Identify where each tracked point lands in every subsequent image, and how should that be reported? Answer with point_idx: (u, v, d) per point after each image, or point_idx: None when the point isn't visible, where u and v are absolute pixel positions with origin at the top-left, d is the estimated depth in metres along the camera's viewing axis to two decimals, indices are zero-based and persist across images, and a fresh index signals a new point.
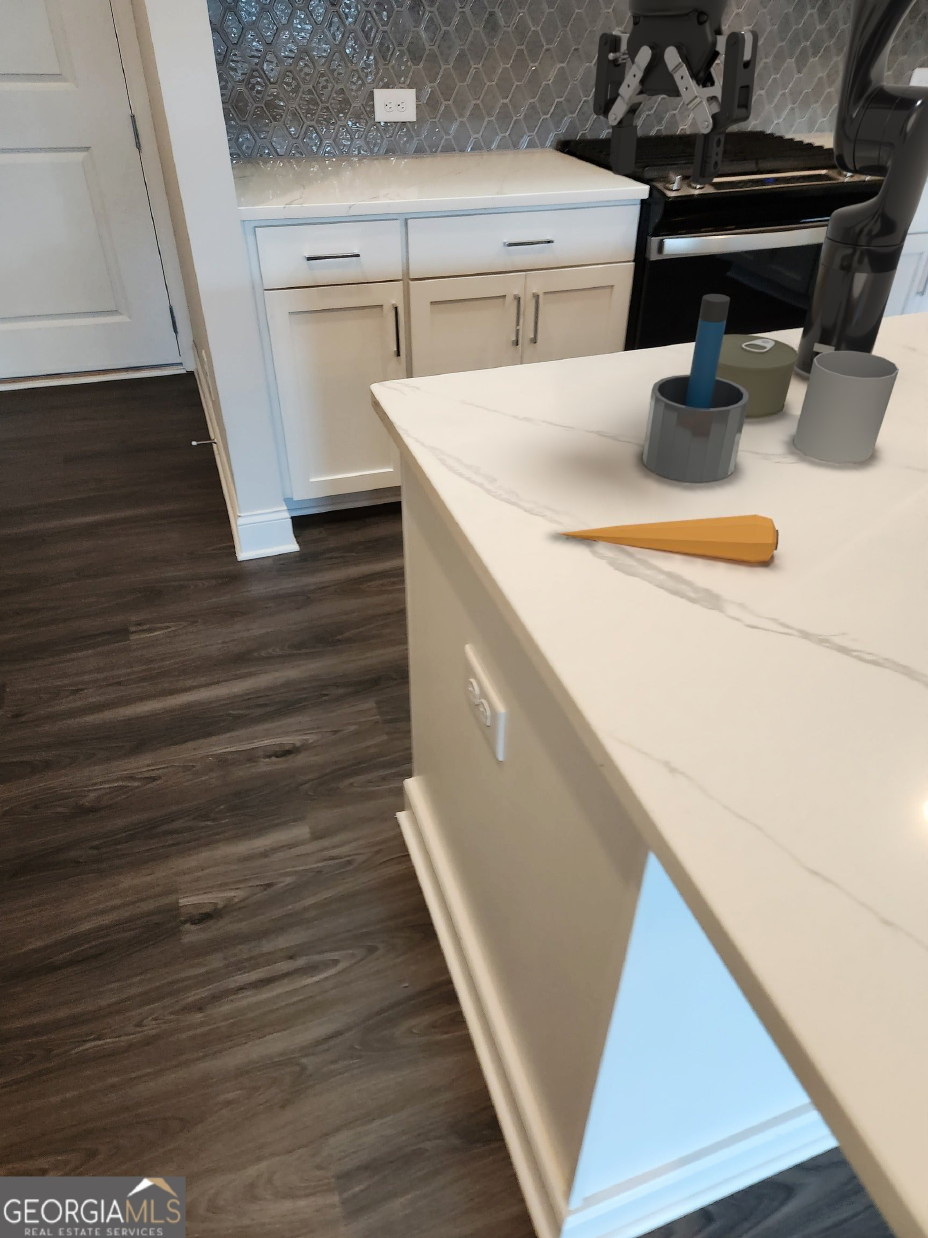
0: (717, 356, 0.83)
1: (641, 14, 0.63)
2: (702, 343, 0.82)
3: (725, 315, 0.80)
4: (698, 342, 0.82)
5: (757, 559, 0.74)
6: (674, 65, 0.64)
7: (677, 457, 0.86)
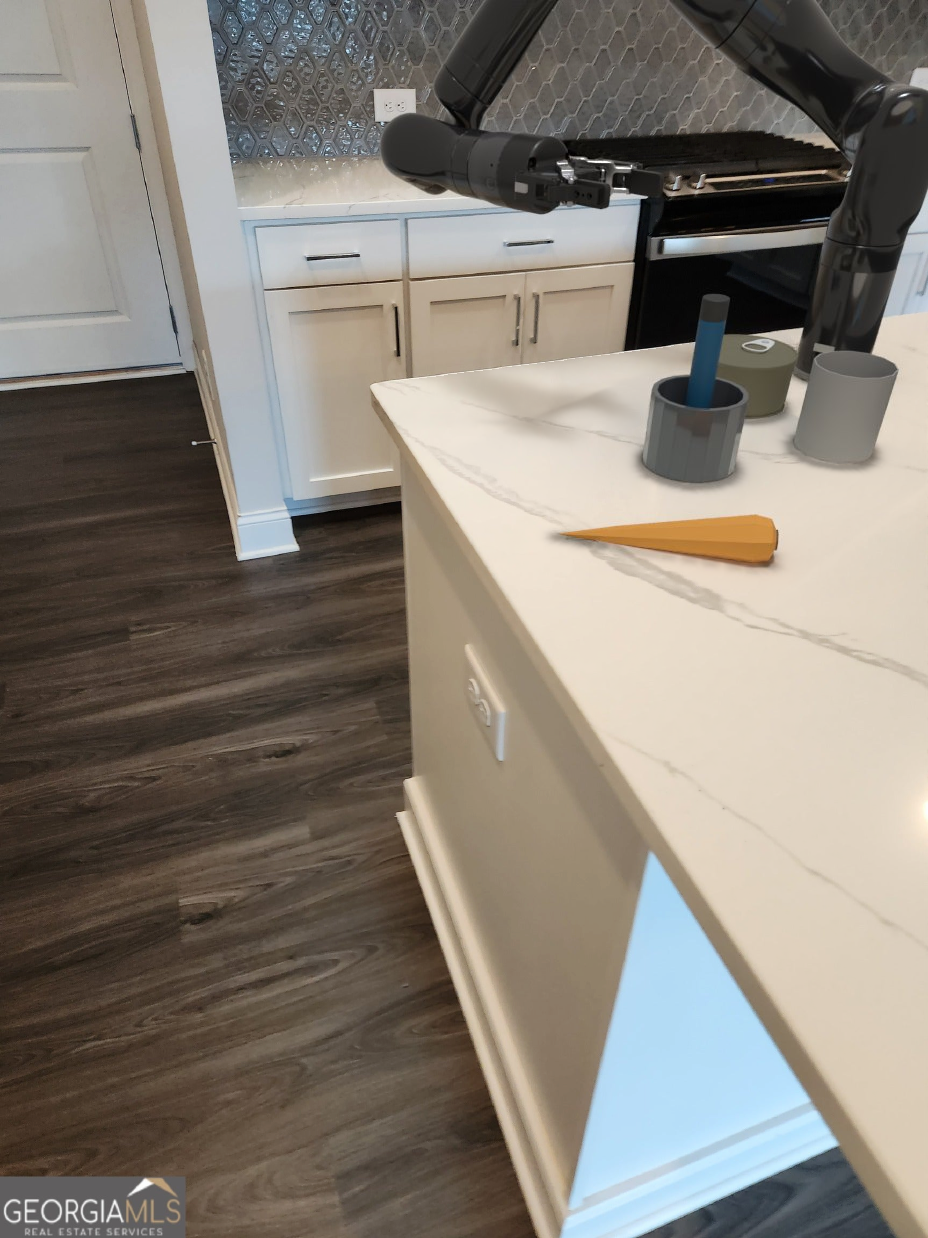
0: (717, 356, 0.83)
1: (551, 210, 0.91)
2: (702, 343, 0.82)
3: (725, 315, 0.80)
4: (698, 342, 0.82)
5: (757, 559, 0.74)
6: None
7: (677, 457, 0.86)
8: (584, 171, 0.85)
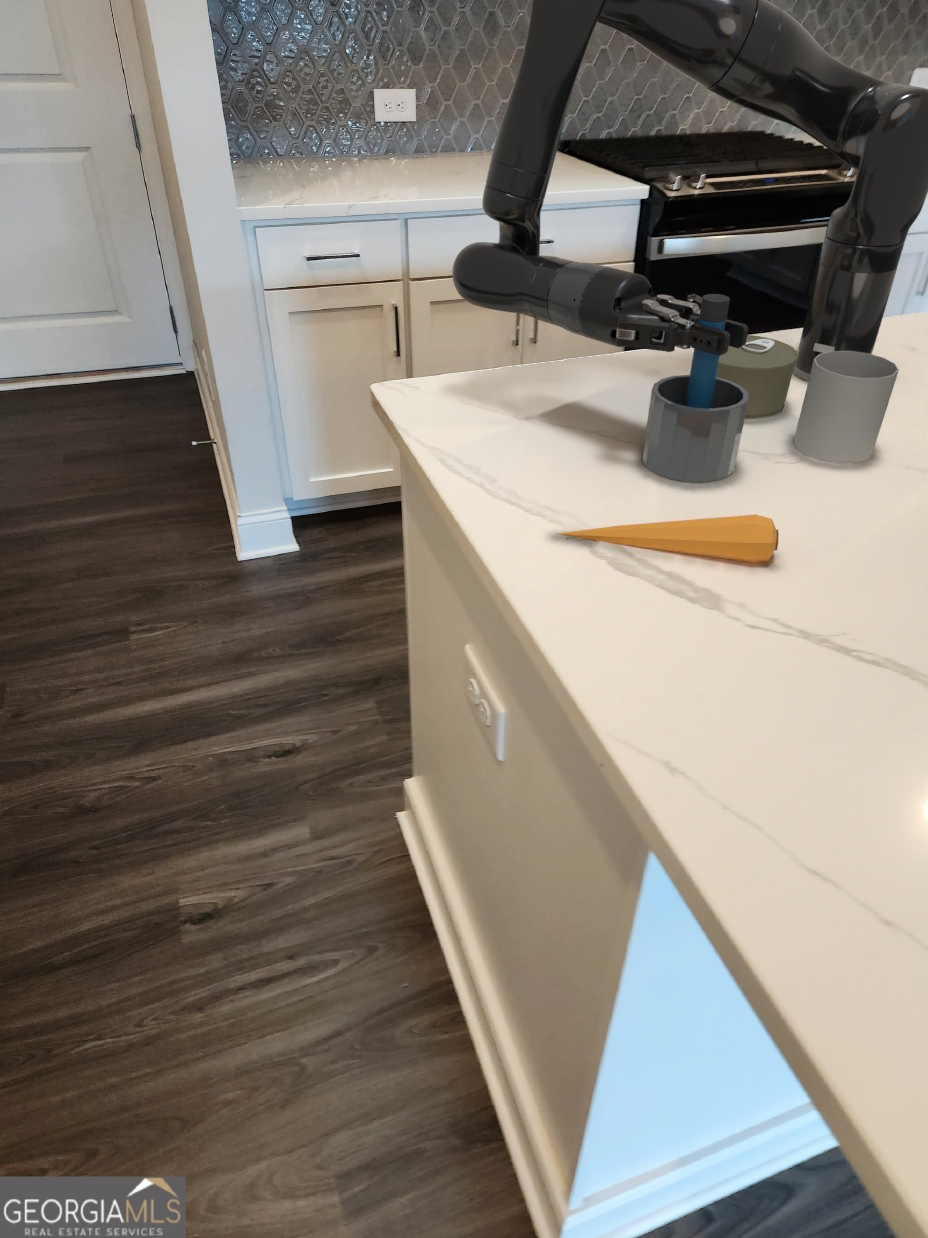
0: (717, 356, 0.83)
1: None
2: None
3: (725, 315, 0.80)
4: None
5: (757, 559, 0.74)
6: None
7: (677, 457, 0.86)
8: None
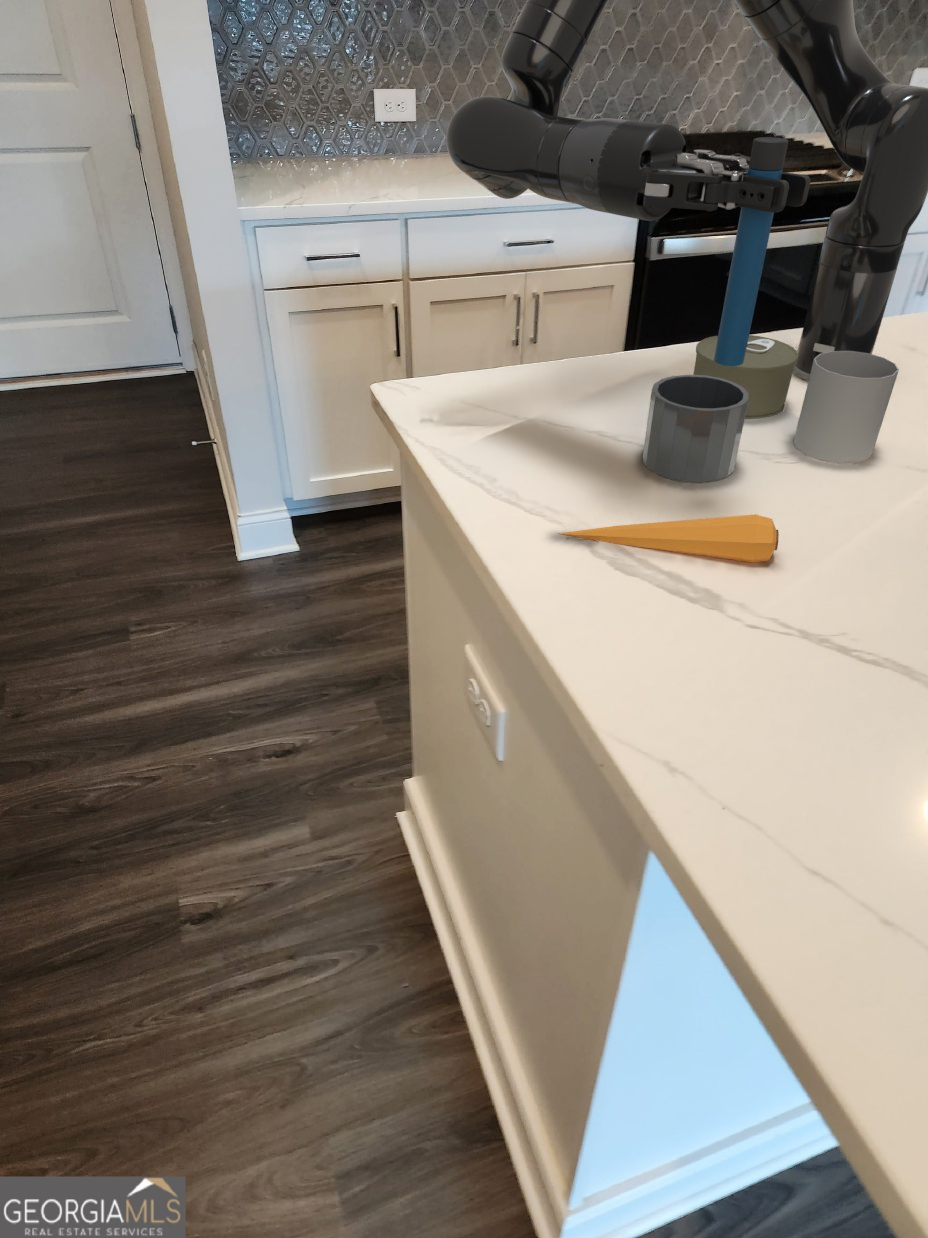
0: (770, 218, 0.67)
1: (662, 215, 0.74)
2: None
3: (782, 162, 0.64)
4: None
5: (757, 559, 0.74)
6: None
7: (677, 457, 0.86)
8: None
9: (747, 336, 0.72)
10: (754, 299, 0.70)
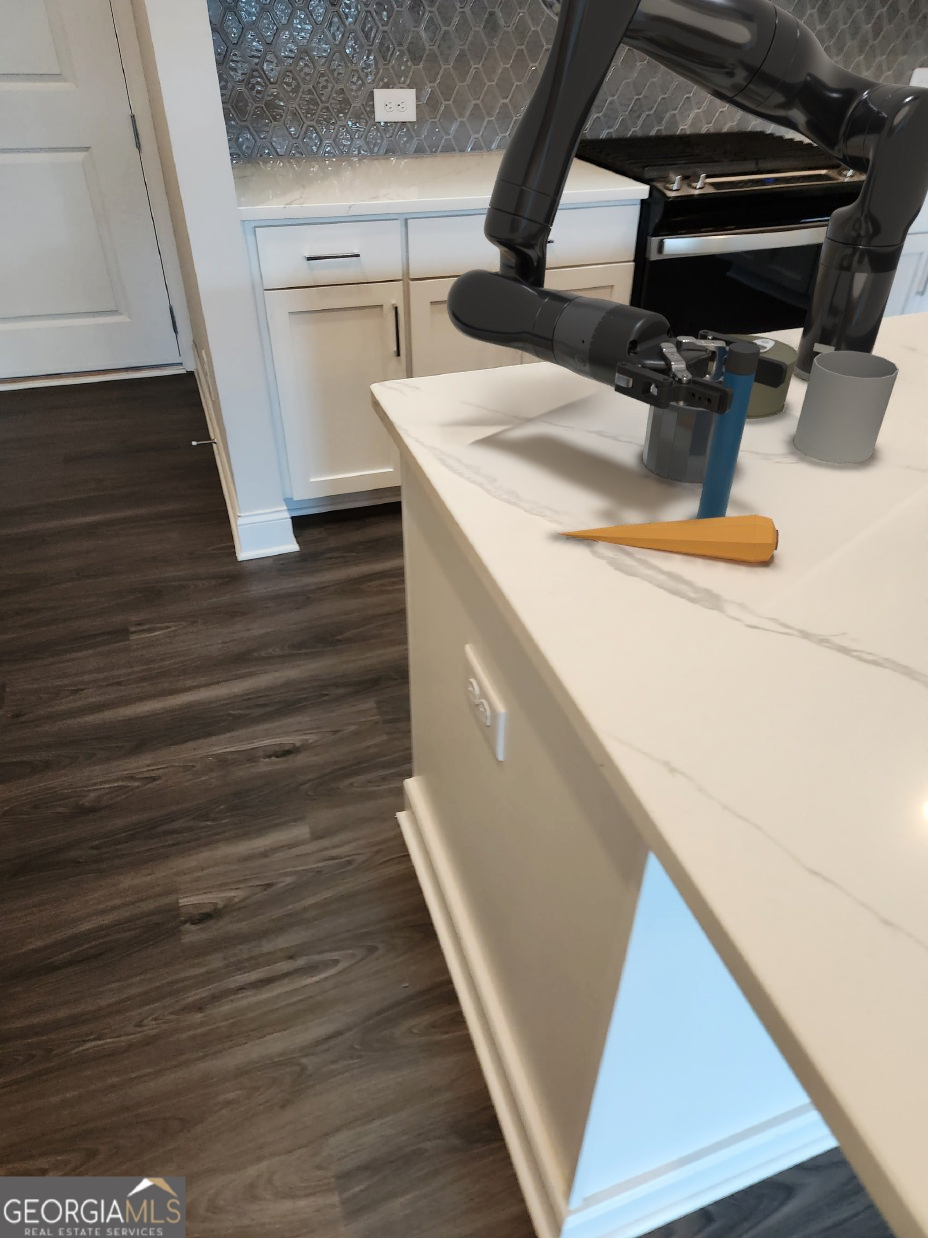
0: (745, 412, 0.73)
1: None
2: None
3: (755, 367, 0.70)
4: None
5: (757, 559, 0.74)
6: None
7: (677, 457, 0.86)
8: (693, 358, 0.74)
9: (726, 506, 0.79)
10: (732, 477, 0.77)
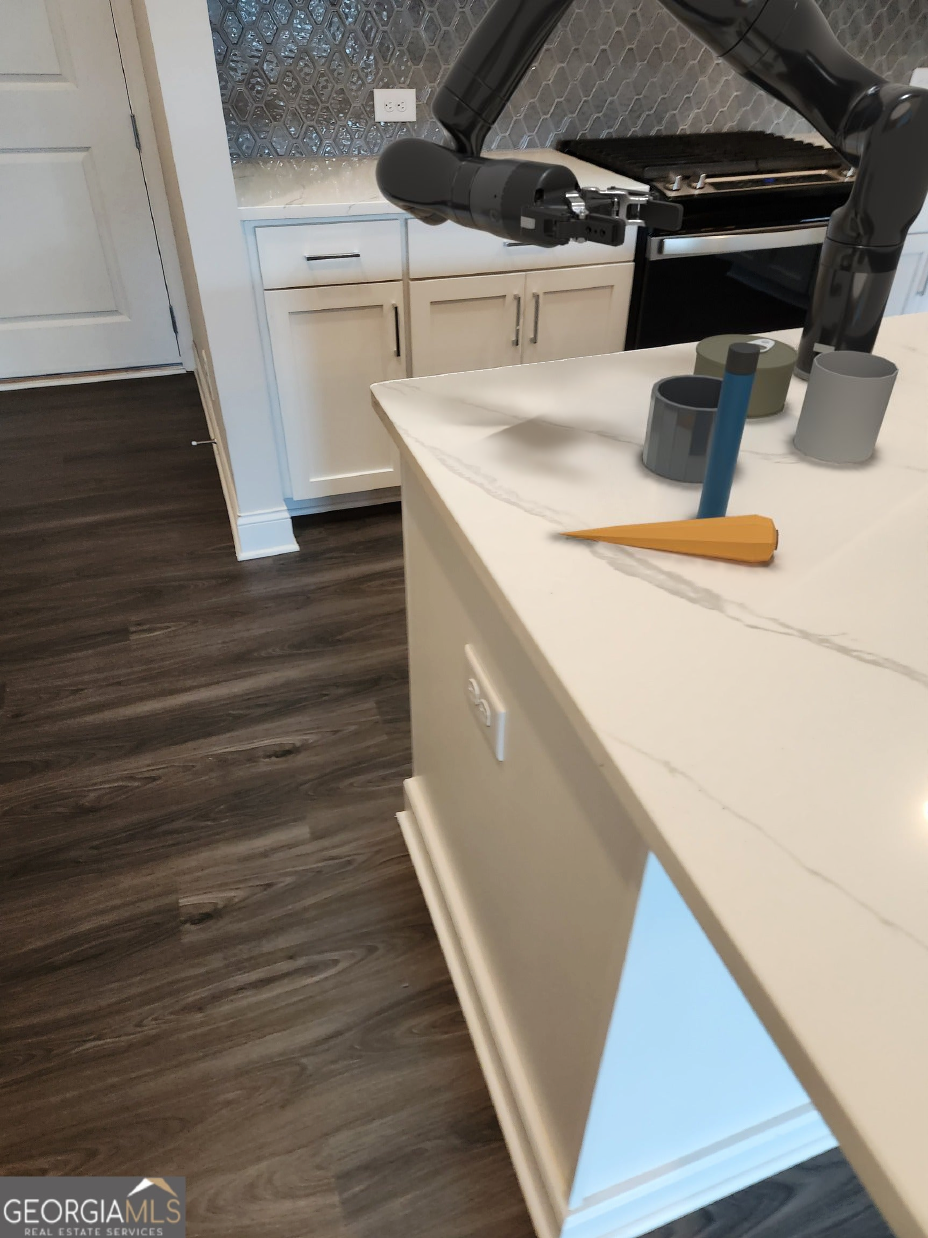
0: (745, 412, 0.73)
1: None
2: (728, 398, 0.72)
3: (755, 367, 0.70)
4: (723, 396, 0.72)
5: (757, 559, 0.74)
6: None
7: (677, 457, 0.86)
8: (595, 203, 0.78)
9: (726, 506, 0.79)
10: (732, 477, 0.77)
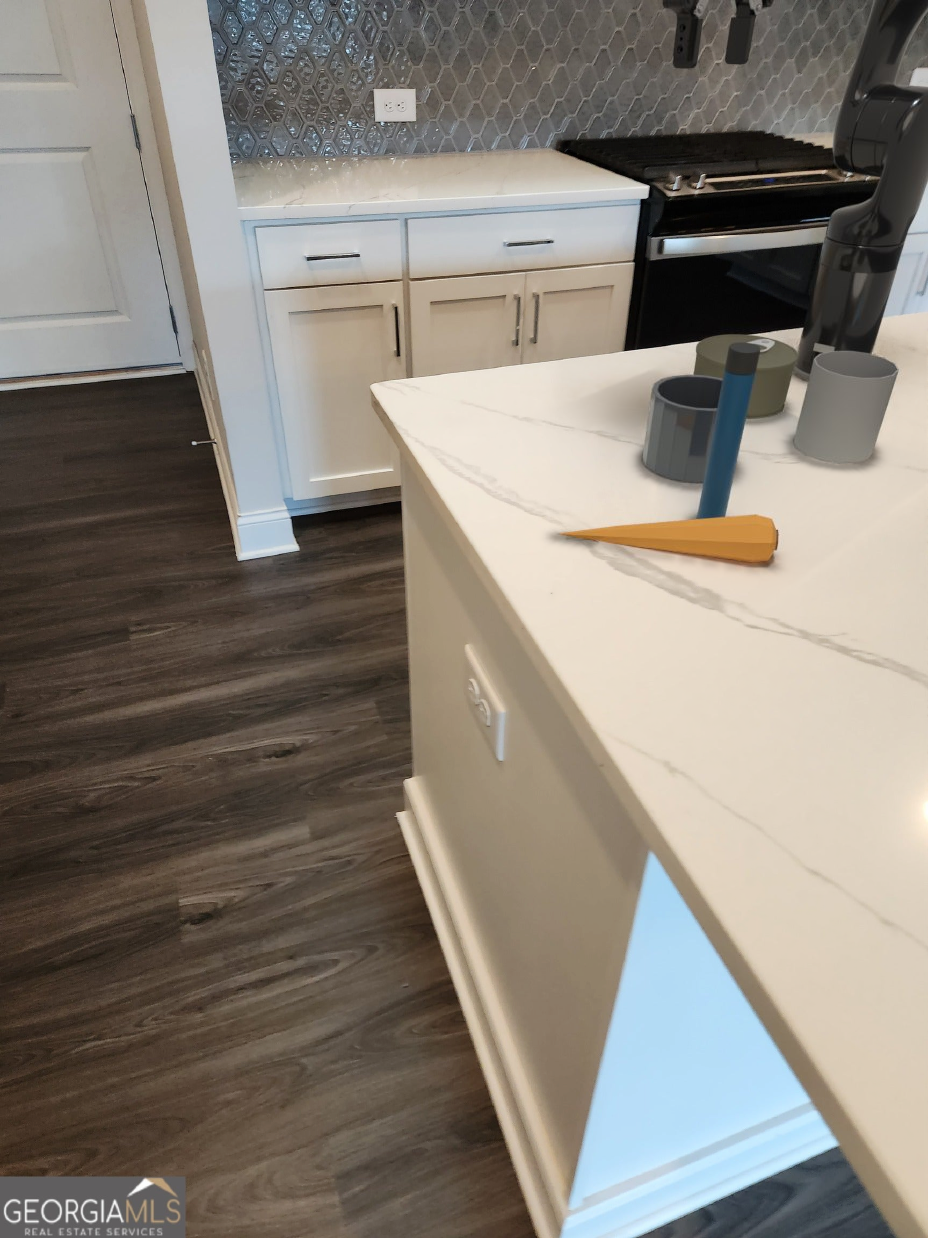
0: (745, 412, 0.73)
1: None
2: (728, 398, 0.72)
3: (755, 367, 0.70)
4: (723, 396, 0.72)
5: (757, 559, 0.74)
6: None
7: (677, 457, 0.86)
8: None
9: (726, 506, 0.79)
10: (732, 477, 0.77)
